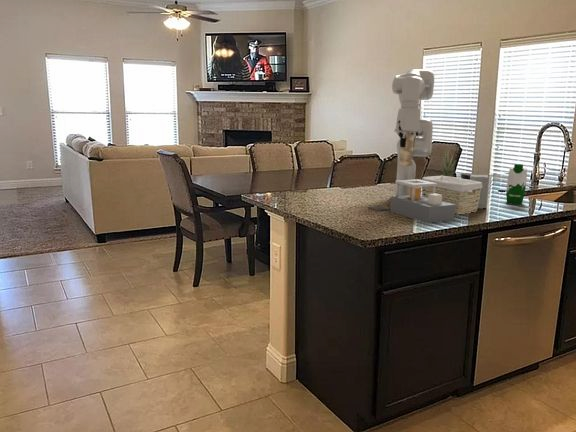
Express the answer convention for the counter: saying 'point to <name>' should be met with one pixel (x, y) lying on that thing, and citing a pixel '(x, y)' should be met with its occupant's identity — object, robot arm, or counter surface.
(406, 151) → the wooden rectangular block
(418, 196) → the plunger
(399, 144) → the robot arm
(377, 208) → the pad
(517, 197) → the milk carton
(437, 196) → the on button
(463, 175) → the supplement container
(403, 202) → the grey housing
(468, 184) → the storage basket
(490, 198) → the counter surface
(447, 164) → the potted plant
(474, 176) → the skincare box
